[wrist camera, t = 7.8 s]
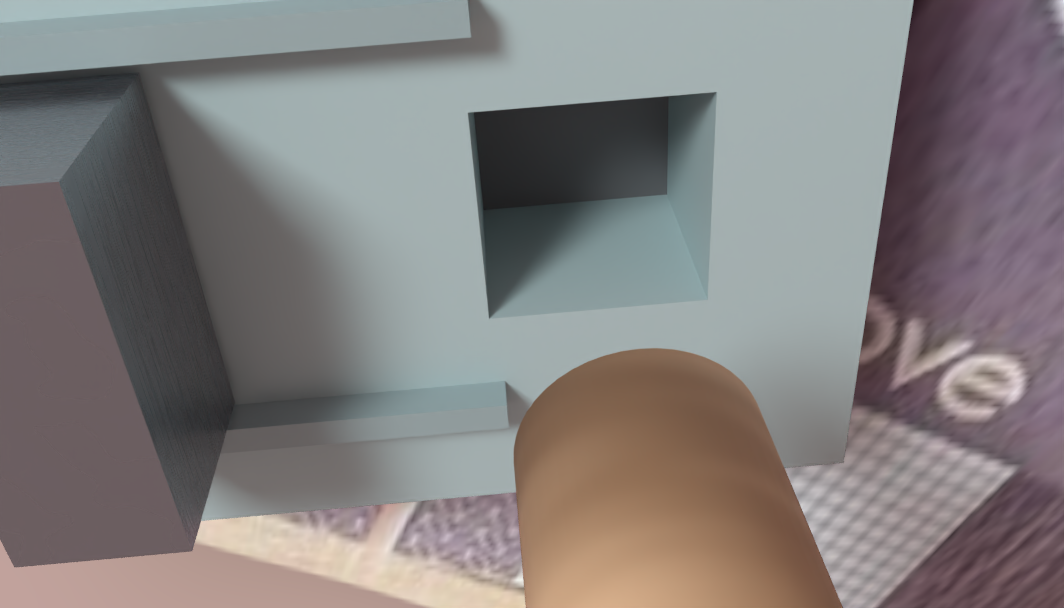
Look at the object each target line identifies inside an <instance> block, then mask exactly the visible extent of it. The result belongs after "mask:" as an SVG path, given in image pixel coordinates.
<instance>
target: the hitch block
mask: <svg viewBox="0 0 1064 608" xmlns="http://www.w3.org/2000/svg"><path fill="white" fill-rule="evenodd" d="M913 1H914V0H0V84H3V83H15V82H28V81H40V80H52V79H64V78H77V77H89V76H101V75H113V74H126V73H138V72H139V74H140V77H141V81H142V84H143V88H144V91H145V95H146V98H147V101H148V105H149V108H150V112H151V115H152V119H153V122H154V125H155V129H156V132H157V136H158V139H159V143H160V146H161V150H162V153H163V156H164V160H165V163H166V167H167V170H168V174H169V177H170V180H171V184H172V187H173V191H174V194H175V198H176V201H177V204H178V208H179V211H180V215H181V218H182V222H183V225H184V228H185V232H186V235H187V239H188V242H189V246H190V249H191V253H192V256H193V259H194V263H195V266H196V270H197V273H198V277H199V280H200V283H201V287H202V290H203V294H204V297H205V301H206V304H207V307H208V311H209V314H210V318H211V321H212V325H213V328H214V331H215V335H216V338H217V342H218V345H219V349H220V352H221V356H222V359H223V362H224V366H225V369H226V373H227V376H228V380H229V383H230V386H231V390H232V393H233V397H234V400H235V405H234V408H233V411H232V415H231V418H230V422H229V425H228V429H227V432H226V436H225V439H224V443H223V446H222V449H221V453H220V456H219V460H218V463H217V467H216V470H215V474H214V477H213V481H212V484H211V488H210V491H209V494H208V498H207V501H206V505H205V508H204V512H203V515H202V519H201V521H205V520H216V519H227V518H238V517H249V516H260V515H271V514H282V513H293V512H304V511H315V510H326V509H337V508H348V507H359V506H370V505H381V504H393V503H404V502H415V501H426V500H437V499H448V498H459V497H470V496H481V495H492V494H503V493H514V492H516V484H515V473H514V444H515V439H516V435H517V432H518V429H519V426H520V424H521V422H522V420H523V418H524V416H525V414H526V412H527V411H528V409H529V408H530V406H531V405H532V404H533V402H534V401H535V400H536V399H537V398H538V396H539V395H540V394H541V393H542V392H543V391H544V390H545V389H546V388H547V387H548V386H550V385H551V384H552V383H553V382H555V381H556V380H557V379H558V378H560V377H561V376H563V375H564V374H566V373H568V372H569V371H571V370H572V369H574V368H576V367H578V366H580V365H582V364H584V363H586V362H588V361H591V360H594V359H596V358H599V357H602V356H605V355H609V354H613V353H617V352H621V351H627V350H634V349H645V348H662V349H674V350H680V351H685V352H690V353H693V354H696V355H700V356H703V357H706V358H708V359H710V360H712V361H714V362H716V363H718V364H720V365H722V366H723V367H725V368H726V369H728V370H730V371H731V372H732V373H733V374H735V375H736V376H737V377H738V378H739V379H740V380H741V381H742V382H743V383H744V384H745V385H746V387H747V388H748V389H749V390H750V391H751V393H752V395H753V397H754V398H755V400H756V402H757V404H758V406H759V409H760V411H761V414H762V416H763V418H764V421H765V423H766V425H767V428H768V430H769V433H770V435H771V437H772V440H773V442H774V445H775V447H776V449H777V452H778V454H779V457H780V459H781V461H782V464H783V466H784V468H790V467H801V466H812V465H823V464H834V463H844V457H845V451H846V444H847V437H848V431H849V424H850V418H851V411H852V404H853V398H854V391H855V385H856V378H857V371H858V365H859V358H860V351H861V345H862V338H863V332H864V325H865V318H866V312H867V305H868V299H869V292H870V285H871V279H872V272H873V265H874V259H875V252H876V246H877V239H878V232H879V226H880V219H881V213H882V206H883V199H884V193H885V186H886V179H887V173H888V166H889V160H890V153H891V146H892V140H893V133H894V127H895V120H896V113H897V107H898V100H899V93H900V87H901V80H902V74H903V67H904V60H905V54H906V47H907V41H908V34H909V27H910V21H911V14H912V7H913Z"/></svg>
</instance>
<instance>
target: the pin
mask: <svg viewBox="0 0 1064 608" xmlns="http://www.w3.org/2000/svg"><path fill="white" fill-rule="evenodd" d="M514 473H515V484H516V496H517V508H518V520H519V532H520V543H521V555H522V567H523V579H524V590H525V602H526V608H843V607H842V605H841V602H840V600H839V598H838V595H837V593H836V590H835V588H834V586H833V583H832V581H831V578H830V576H829V574H828V571H827V569H826V566H825V564H824V562H823V559H822V557H821V554H820V552H819V550H818V547H817V545H816V543H815V540H814V538H813V535H812V533H811V531H810V528H809V526H808V523H807V521H806V519H805V516H804V514H803V511H802V509H801V507H800V504H799V502H798V500H797V497H796V495H795V492H794V490H793V488H792V485H791V483H790V480H789V478H788V476H787V473H786V471H785V468H784V466H783V464H782V461H781V459H780V457H779V454H778V452H777V449H776V447H775V445H774V442H773V440H772V437H771V435H770V433H769V430H768V428H767V425H766V423H765V421H764V418H763V416H762V414H761V411H760V409H759V406H758V404H757V402H756V400H755V398H754V397H753V395H752V393H751V391H750V390H749V389H748V388H747V387H746V385H745V384H744V383H743V382H742V381H741V380H740V379H739V378H738V377H737V376H736V375H735V374H733V373H732V372H731V371H730V370H728V369H726V368H725V367H723V366H722V365H720V364H718V363H716V362H714V361H712V360H710V359H708V358H706V357H703V356H700V355H696V354H693V353H690V352H685V351H680V350H674V349H662V348H645V349H634V350H627V351H621V352H617V353H613V354H609V355H605V356H602V357H599V358H596V359H594V360H591V361H588V362H586V363H584V364H582V365H580V366H578V367H576V368H574V369H572V370H571V371H569V372H568V373H566V374H564V375H563V376H561V377H560V378H558V379H557V380H556V381H555V382H553V383H552V384H551V385H550V386H548V387H547V388H546V389H545V390H544V391H543V392H542V393H541V394H540V395H539V396H538V398H537V399H536V400H535V401H534V402H533V404H532V405H531V406H530V408H529V409H528V411H527V412H526V414H525V416H524V418H523V420H522V422H521V424H520V426H519V429H518V432H517V435H516V439H515V444H514Z"/></svg>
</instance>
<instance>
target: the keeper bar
mask: <svg viewBox="0 0 1064 608" xmlns="http://www.w3.org/2000/svg"><path fill="white" fill-rule="evenodd" d="M234 405H235V400H234V397H233V393H232V390H231V386H230V383H229V380H228V376H227V373H226V369H225V366H224V362H223V359H222V356H221V352H220V349H219V345H218V342H217V338H216V335H215V331H214V328H213V325H212V321H211V318H210V314H209V311H208V307H207V304H206V301H205V297H204V294H203V290H202V287H201V283H200V280H199V277H198V273H197V270H196V266H195V263H194V259H193V256H192V253H191V249H190V246H189V242H188V239H187V235H186V232H185V228H184V225H183V222H182V218H181V215H180V211H179V208H178V204H177V201H176V198H175V194H174V191H173V187H172V184H171V180H170V177H169V174H168V170H167V167H166V163H165V160H164V156H163V153H162V150H161V146H160V143H159V139H158V136H157V132H156V129H155V125H154V122H153V119H152V115H151V112H150V108H149V105H148V101H147V98H146V95H145V91H144V88H143V84H142V81H141V77H140V74H139V72H138V73H126V74H113V75H101V76H89V77H77V78H64V79H52V80H40V81H28V82H15V83H3V84H0V540H1V542H2V544H3V546H4V547H5V550H6V552H7V554H8V555H9V557H10V559H11V561H12V563H13V565H14V567H24V566H35V565H45V564H56V563H68V562H78V561H90V560H101V559H112V558H123V557H134V556H144V555H155V554H167V553H178V552H189V551H192V550H193V546H194V543H195V539H196V536H197V532H198V529H199V526H200V522H201V519H202V515H203V512H204V508H205V505H206V501H207V498H208V494H209V491H210V488H211V484H212V481H213V477H214V474H215V470H216V467H217V463H218V460H219V456H220V453H221V449H222V446H223V443H224V439H225V436H226V432H227V429H228V425H229V422H230V418H231V415H232V411H233V408H234Z"/></svg>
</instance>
